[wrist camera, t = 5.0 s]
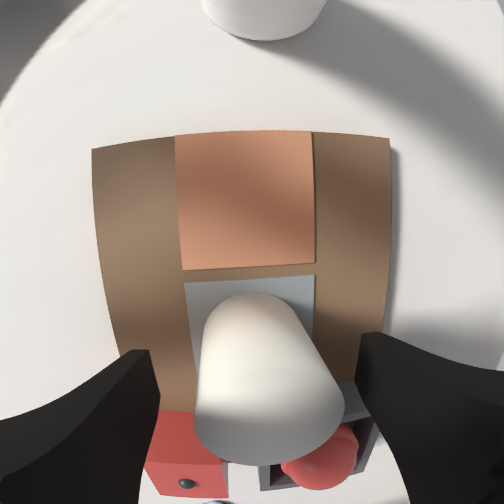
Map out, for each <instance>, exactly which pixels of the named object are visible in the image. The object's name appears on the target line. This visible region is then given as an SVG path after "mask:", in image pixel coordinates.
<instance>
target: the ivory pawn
mask: <svg viewBox="0 0 504 504" xmlns="http://www.w3.org/2000/svg"><path fill="white" fill-rule="evenodd" d="M344 407H345V403H344V397H343V395H342V392H341V390H340V389H339V387H338V385H337V383H336V382H335V380H334V378H333V377H332V375H331V373H330V371H329V370H328V368H327V366H326V365H325V363H324V361H323V359H322V358H321V356H320V354H319V353H318V351H317V349H316V347H315V346H314V344H313V342H312V341H311V339H310V337H309V336H308V334H307V332H306V330H305V329H304V327H303V325H302V324H301V322H300V320H299V319H298V317H297V315H296V314H295V312H294V310H293V309H292V308H291V307H290V306H289V305H288V304H287V303H286V302H285V301H283V300H281V299H280V298H278V297H276V296H273V295H270V294H266V293H261V292H248V293H242V294H239V295H235V296H233V297H231V298H228V299H227V300H225V301H223V302H222V303H221V304H219V305H218V306H217V307H216V308H215V309H214V310H213V311H212V313H211V314H210V315H209V317H208V319H207V321H206V324H205V326H204V331H203V339H202V347H201V355H200V364H199V373H198V382H197V391H196V401H195V411H194V430H195V433H196V436H197V438H198V439H199V441H200V442H201V444H202V445H203V446H204V447H205V448H206V449H207V450H208V451H210V452H211V453H212V454H214V455H216V456H218V457H219V458H222V459H224V460H226V461H230V462H233V463H237V464H242V465H250V466H267V465H275V464H280V463H285V462H288V461H292V460H295V459H297V458H300V457H302V456H304V455H306V454H308V453H310V452H312V451H314V450H315V449H317V448H318V447H320V446H321V445H322V444H323V443H325V442H326V441H327V440H328V439H329V438H330V437H331V436H332V435H333V433H334V432H335V431H336V430H337V428H338V426H339V425H340V423H341V420H342V418H343V414H344Z"/></svg>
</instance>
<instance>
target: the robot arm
mask: <svg viewBox="0 0 504 504" xmlns="http://www.w3.org/2000/svg"><path fill="white" fill-rule="evenodd" d="M354 381H355V384H356V387H357V389H358V392H359V394H360V397H361V399H362V401H363V403H364V405H365V407H366V408H367V410H368V412H369V413H370V415H371V417H372V419H373V420H374V422H375V424H376V425H377V427H378V429H379V430H380V432H381V434H382V435H383V437H384V439H385V440H386V442H387V444H388V445H389V447H390V449H391V451H392V453H393V455H394V458H395V460H396V463H397V465H398V468H399V470H400V473H401V475H402V478H403V481H404V484H405V487H406V490H407V493H408V496H409V500H410V504H504V371H497V370H489V369H483V368H478V367H473V366H469V365H465V364H461V363H458V362H454V361H451V360H448V359H445V358H442V357H439V356H437V355H434V354H431V353H429V352H426V351H424V350H421V349H419V348H417V347H414V346H412V345H410V344H407V343H405V342H403V341H400V340H398V339H396V338H393V337H391V336H388V335H386V334H383V333H380V332H377V331H376V332H370V333H364V334H361V340H360V347H359V353H358V360H357V366H356V371H355V377H354ZM160 398H161V394H160V391H159V387H158V384H157V380H156V376H155V372H154V368H153V364H152V360H151V356H150V352H149V350H147V349H132V350H130V351H128V352H127V353H125V354H124V355H122V356H121V357H120V358H118V359H117V360H116V361H114V362H113V363H112V364H110V365H109V366H107V367H106V368H105V369H103V370H102V371H100V372H99V373H98V374H96V375H95V376H94V377H92V378H91V379H89V380H88V381H86V382H84V383H83V384H81V385H80V386H78V387H77V388H75V389H74V390H72V391H71V392H69V393H67V394H65V395H64V396H62V397H60V398H58V399H56V400H54V401H52V402H50V403H48V404H46V405H44V406H42V407H39V408H37V409H34V410H31V411H29V412H26V413H23V414H21V415H18V416H15V417H11V418H7V419H4V420H0V504H138V500H139V491H140V483H141V477H142V472H143V468H144V464H145V461H146V457H147V454H148V450H149V447H150V443H151V440H152V436H153V433H154V429H155V426H156V422H157V419H158V412H159V405H160ZM207 504H222V503H220V502H210V503H207Z"/></svg>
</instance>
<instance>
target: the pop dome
mask: <svg viewBox="0 0 504 504" xmlns="http://www.w3.org/2000/svg"><path fill="white" fill-rule="evenodd" d="M358 448H359V444H358V441H357V439H356V437H355V435H354V433H353V431H352V429H351V427H350V425H349V423H348V422H346V423H341V424H340V425H339V426H338V428H337V430H336V431H335V432H334V433H333V435H332V436H331V437H330V438H329V439H328V440H327V441H326V442H325V443H323V444H322V445H321V446H320V447H318V448H317V449H315V450H314V451H312V452H310V453H308V454H306V455H304V456H302V457H300V458H297V459H295V460H292V461H288V462H285V463H281V468H282V470H283V472H284V473H285V474H287V475H288V476H290V478H291V479H292V480H293V481H294V482H295V483H296V484H298V485H300V486H301V487H304V488H306V489H311V490H325V489H329V488H332V487H334V486H337V485H338V484H340V483H342V482H343V481H344V480H345V479H346V478H347V477H348V476H349V475H350V474H351V472H352V471H353V469H354V467H355V464H356V459H357V451H358Z"/></svg>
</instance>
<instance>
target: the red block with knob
mask: <svg viewBox="0 0 504 504" xmlns="http://www.w3.org/2000/svg"><path fill="white" fill-rule="evenodd" d="M144 468H145V470H146V472H147V474H148V475H149V477H150V479H151V481H152V482H153V484H154V486H155V487H156V489H157V490H158V492H159V494H160V495H165V496H175V497H190V498H229V495H228V461H226V460H224V459H222V458H219V457H218V456H216V455H214V454H212V453H211V452H210V451H208V450H207V449H206V448H205V447H204V446H203V445H202V444H201V442H200V441H199V439H198V438H197V436H196V433H195V430H194V412H165V411H159V412H158V419H157V422H156V426H155V429H154V433H153V436H152V440H151V443H150V447H149V450H148V454H147V457H146V461H145V464H144Z"/></svg>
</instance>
